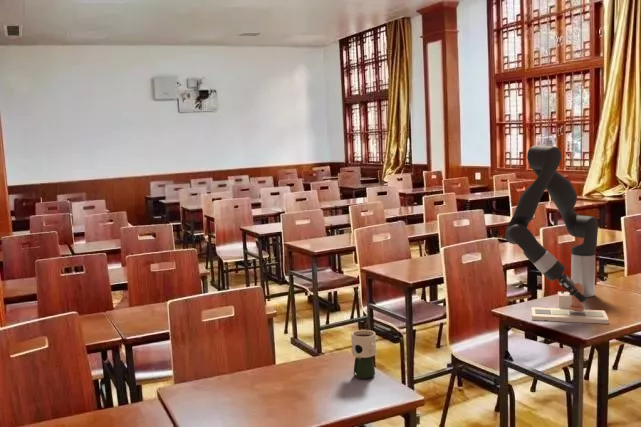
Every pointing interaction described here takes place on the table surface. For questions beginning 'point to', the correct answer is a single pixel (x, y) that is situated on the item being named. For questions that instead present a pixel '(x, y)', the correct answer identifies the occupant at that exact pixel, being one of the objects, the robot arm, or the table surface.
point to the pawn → (575, 302)
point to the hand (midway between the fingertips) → (583, 298)
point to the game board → (569, 315)
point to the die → (564, 300)
